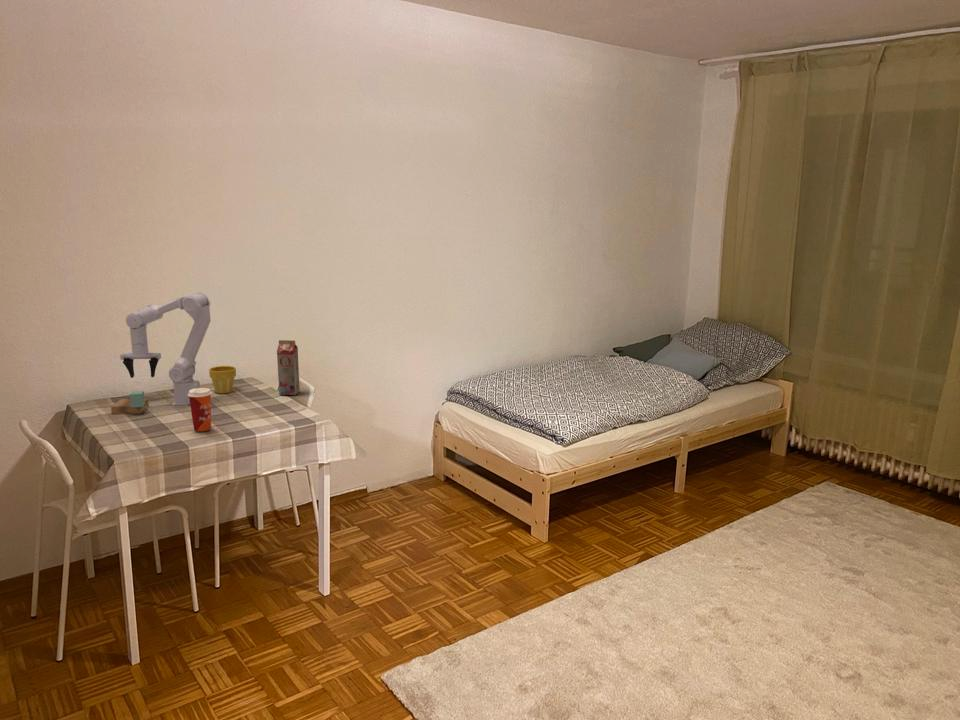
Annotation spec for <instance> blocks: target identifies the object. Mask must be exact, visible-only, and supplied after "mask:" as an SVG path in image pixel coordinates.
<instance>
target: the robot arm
mask: <svg viewBox="0 0 960 720" xmlns="http://www.w3.org/2000/svg"><path fill="white" fill-rule="evenodd" d="M210 306H211V301H210V298H208V296H207V295H206V294H205V293H202V292H197V293H195V294H189V295H184V296H180V297H178V298H177V297H176V298H175V299H173V300H170V301H168V302H166V303H164V304H161V305H157V304H153V303H152V304H148V305H147V307H145V308H142V309H141V308H140V309H137V311H136V312H131V313H129V314H128V315H127V316H126V318H125V324H126V326H128V327H129V334H130V345H131V351H132V352H130V353H121V354H119V357H120V361H121V360H122V364H123V365H124V366H125V368H126V369H127V371H128V374H129V376H130V378H131V379H132V378H134V377H135V371H134V360H142V359H143V360H148V363H149V368H150V377H151V378H154V377H156V369H157V365H158V363H159V360H160V359H162V354H161V352H149V345H148V342H149V341H148V334H147V333H148V332H147V325H148V324H151V323H153V322H155V321H158V320H161V319H162V318H163V316H164V314H166V313H169V312H172V311H174V310H176V309H180V310H182V311H183V310H184V311H185V312H186V313H187V314H188V315H189V317H191V319H192V320H193V324H192V327H191V330H190V332H189V334H188V337H187V340H186V342H185V344H184V346H183V349H182V351H181V354H180V356H179V357H178V359H177V360H176V361H175V363H174V365H173V366H172V367H171V368H170V369H169V371H168V377H169V379H170V380H171V381H172V384H173V396H174V401H173V402H172V403H171V405H172V406H173V405H174V406H177V405H178V406H180V405H182V406H183V405H190V400H189V396H188V394H189V391H190V390H191V389H195V388H201V382H200V381H199V380H196V379H194V375H195V374H196V364H197V362H196V360H195V359H196V358H197V355H198V353H199V350H200V348H201V345H202V343H203V341H204V337H205V336H206V333H207V331H208V329H209V325H210V324H211V309H210Z"/></svg>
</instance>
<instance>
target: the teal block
mask: <svg viewBox="0 0 960 720" xmlns="http://www.w3.org/2000/svg"><path fill="white" fill-rule="evenodd" d="M129 399H130V403H131V407H143V406H144V405H145V399H146V398H145V391H144V390H136V391H135V390H134V391H131V392H130V393H129Z"/></svg>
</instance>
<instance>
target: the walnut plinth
mask: <svg viewBox="0 0 960 720" xmlns="http://www.w3.org/2000/svg"><path fill="white" fill-rule="evenodd" d="M110 407H111V408H110V409H111V410H110V411H111V415H141V414H142V413H143V412H144V411H145V410H146V409H147V408H149V398H145V405H144V406H143V407H131V403H130V398H121V399H119V400H117V401H116V402H115V403H114V404H113V405H111V406H110Z"/></svg>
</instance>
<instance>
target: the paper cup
mask: <svg viewBox="0 0 960 720" xmlns="http://www.w3.org/2000/svg"><path fill="white" fill-rule="evenodd" d="M188 396H189V400H190V404H189V407H190V412H191V419H192V424H193V425H192V426H193V431H194V432H207V431H210V430H211V429H212V391H211V389H210V388H208V387H207V388H206V387H200V388H195V389H191V390H190V391H189V394H188Z"/></svg>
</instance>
